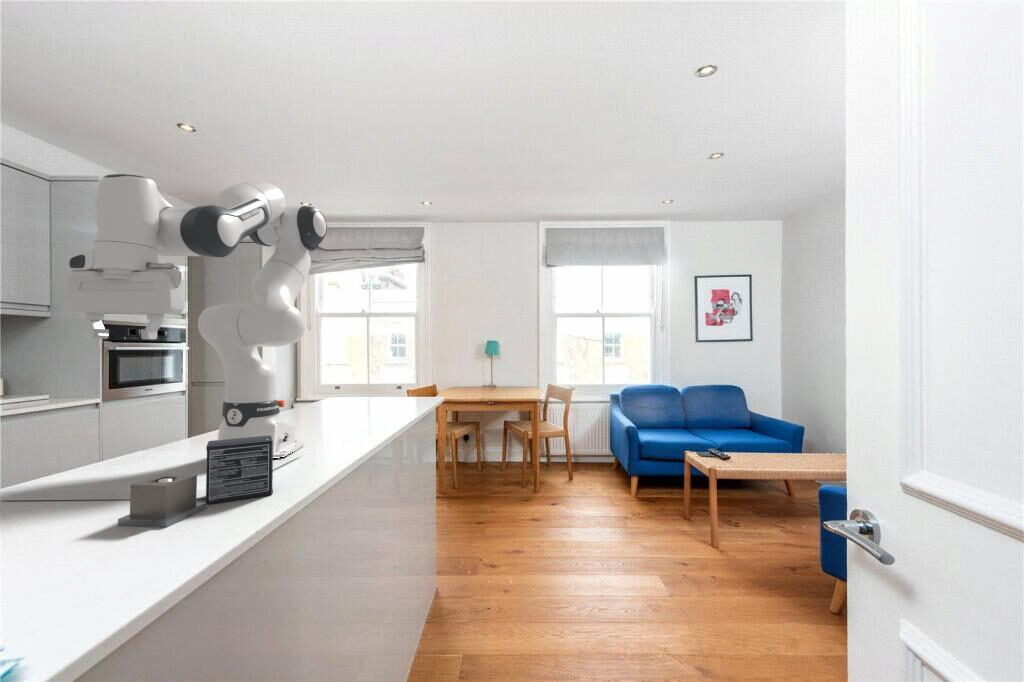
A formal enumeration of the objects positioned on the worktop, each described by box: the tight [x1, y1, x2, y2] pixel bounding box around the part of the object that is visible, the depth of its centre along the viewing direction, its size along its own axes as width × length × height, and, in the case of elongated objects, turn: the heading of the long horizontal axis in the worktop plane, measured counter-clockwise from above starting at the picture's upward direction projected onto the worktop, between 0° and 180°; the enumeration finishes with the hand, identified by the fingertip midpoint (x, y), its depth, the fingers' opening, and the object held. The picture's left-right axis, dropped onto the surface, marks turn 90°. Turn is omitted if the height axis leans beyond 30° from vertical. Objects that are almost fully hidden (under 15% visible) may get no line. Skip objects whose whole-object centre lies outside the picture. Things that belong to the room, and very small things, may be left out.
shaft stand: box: [117, 478, 208, 528], centre depth 71 cm, size 8×8×6 cm
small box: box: [204, 435, 274, 506], centre depth 81 cm, size 11×6×10 cm, turn 122°
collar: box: [129, 473, 198, 518], centre depth 71 cm, size 6×6×5 cm
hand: (124, 339), depth 78 cm, fingers open, 8 cm apart
